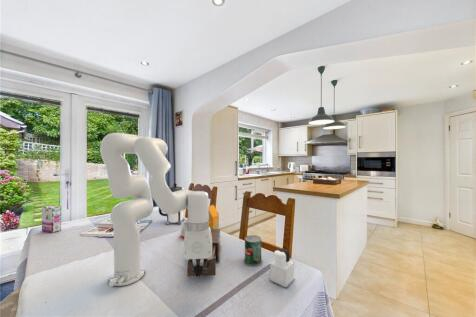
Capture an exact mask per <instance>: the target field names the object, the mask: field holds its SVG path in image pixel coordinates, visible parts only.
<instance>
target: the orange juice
mask: <svg viewBox="0 0 476 317" xmlns="http://www.w3.org/2000/svg"><path fill="white" fill-rule="evenodd" d="M208 206H209V205H208ZM219 215H220V214H219V211H218V210H217V208H216V207H215V205H214V204H211V205H210V206H209V227H210V229H220V216H219Z"/></svg>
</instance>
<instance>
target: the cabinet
mask: <svg viewBox="0 0 476 317" xmlns="http://www.w3.org/2000/svg"><path fill="white" fill-rule="evenodd" d="M211 234H212V245H216V263H219V260H220V250H221V229H220V228H219V229H211Z"/></svg>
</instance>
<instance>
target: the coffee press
mask: <svg viewBox="0 0 476 317" xmlns="http://www.w3.org/2000/svg"><path fill="white" fill-rule="evenodd" d="M168 187H169V189H170V190H171V192H175V191H179V190H185V189H184V188H183V187H182V186H180V185H179V186H178V185H177V183H175V182H174V183H173V186H168ZM158 213H159V215H160V216H162V217H166V221H165V225H169V224H170V223H172V224H175V223H177V225H182V221H184V222H185V218H184V210H182V211H180V212H177V213H175V214H172V215H169V214H166V213H164V212H163V211H162V210H161V209H160V208H159V207H158Z"/></svg>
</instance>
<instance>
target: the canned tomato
mask: <svg viewBox="0 0 476 317" xmlns="http://www.w3.org/2000/svg"><path fill="white" fill-rule="evenodd" d="M244 262H245V264H246V265H248V266H253V267H255V266H259V265H261V264H262V238H261V236H258V235H253V234H251V235H247V236H245V237H244Z"/></svg>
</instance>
